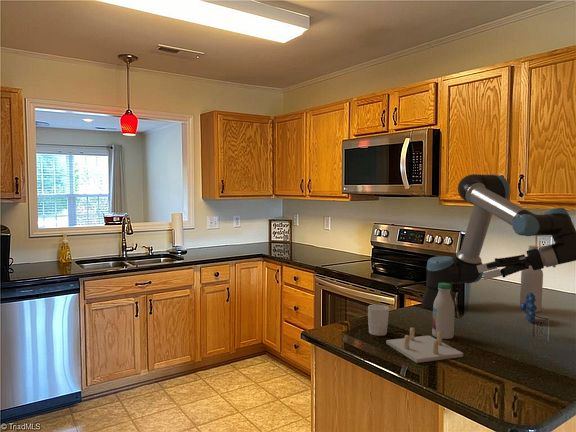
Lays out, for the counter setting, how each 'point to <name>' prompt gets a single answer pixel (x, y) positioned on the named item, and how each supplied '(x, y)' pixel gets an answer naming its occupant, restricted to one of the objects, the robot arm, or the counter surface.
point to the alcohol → (532, 284)
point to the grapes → (529, 307)
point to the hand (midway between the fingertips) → (480, 273)
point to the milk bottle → (443, 312)
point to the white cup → (378, 319)
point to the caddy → (424, 347)
